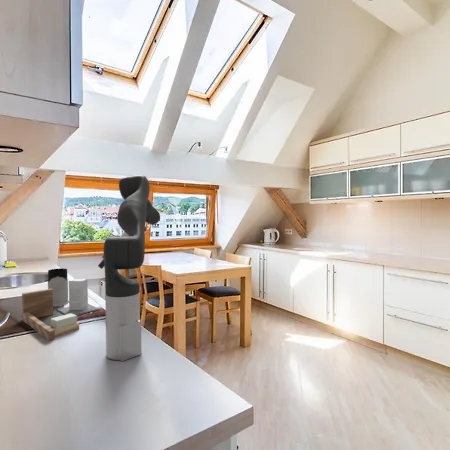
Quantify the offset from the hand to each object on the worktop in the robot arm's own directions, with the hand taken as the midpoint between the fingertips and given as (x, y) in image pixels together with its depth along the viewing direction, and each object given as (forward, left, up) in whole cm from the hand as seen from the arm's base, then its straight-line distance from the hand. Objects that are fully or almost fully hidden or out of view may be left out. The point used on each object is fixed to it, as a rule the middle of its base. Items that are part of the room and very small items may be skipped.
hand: (104, 268), depth 137 cm
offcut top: (-19, +24, -14) cm, 34 cm away
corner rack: (-11, +25, -16) cm, 32 cm away
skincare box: (0, +11, -15) cm, 19 cm away
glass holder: (+19, +12, -16) cm, 28 cm away
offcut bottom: (-19, +24, -16) cm, 35 cm away
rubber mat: (0, +11, -16) cm, 19 cm away
